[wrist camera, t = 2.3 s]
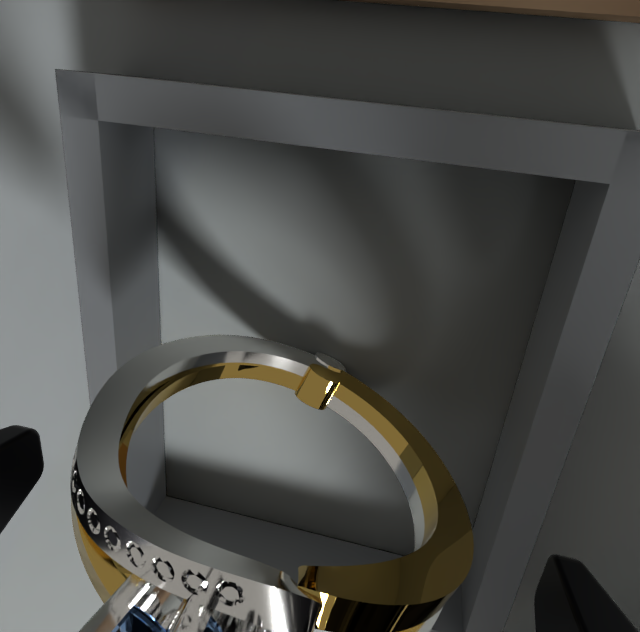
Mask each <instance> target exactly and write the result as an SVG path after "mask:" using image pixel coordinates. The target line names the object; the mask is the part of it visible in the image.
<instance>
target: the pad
mask: <svg viewBox="0 0 640 632" xmlns="http://www.w3.org/2000/svg"><path fill="white" fill-rule="evenodd" d="M340 1H354V2H367V3H380V4H394V5H407V6H420V7H434V8H447V9H460V10H473V11H487V12H500V13H513V14H527V15H540V16H553V17H567V18H580V19H593V20H607V21H620V22H633V23H640V0H340Z"/></svg>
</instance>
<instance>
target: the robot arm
mask: <svg viewBox="0 0 640 632" xmlns="http://www.w3.org/2000/svg"><path fill="white" fill-rule="evenodd" d="M43 468H44V461H43V455H42V449H41V442H40V436H39V434H38V432H37V431H36V430H34V429H32V428H28V427H23V426H19V425H13V426H9V427H6V428H3V429H0V534H1V532H2V531H3V529H4V528H5V527H6V525H7V524H8V522H9V521H10V520H11V518H12V517H13V515H14V514H15V512H16V511H17V510H18V508H19V507H20V505H21V504H22V503H23V501H24V500H25V498H26V497H27V496H28V494H29V493H30V491H31V490H32V489H33V487H34V486H35V484H36V483H37V481H38V480H39V478H40V477H41V475H42V472H43ZM534 606H535V624H536V632H638V631H637V629H636V628H635V627H634V626H633V624H632V623H631V622H630V621H629V620H628V618H627V617H626V616H625V615H624V613H623V612H622V611H621V610H620V608H619V607H618V606H617V605H616V604H615V602H614V601H613V600H612V599H611V597H610V596H609V595H608V594H607V593H606V591H605V590H604V589H603V588H602V586H601V585H600V584H599V583H598V581H597V580H596V579H595V578H594V577H593V575H592V574H591V573H590V572H589V570H588V569H587V568H586V567H585V566H584V564H583V563H581V562H580V561H579V560H577V559H573V558H569V557H565V556H560V555H551V556H550V557H549V559H548V561H547V563H546V566H545V568H544V571H543V573H542V576H541V579H540V581H539V584H538V586H537V589H536V593H535V603H534Z"/></svg>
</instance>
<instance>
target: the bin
mask: <svg viewBox="0 0 640 632" xmlns="http://www.w3.org/2000/svg"><path fill="white" fill-rule="evenodd" d="M55 72H56V82H57V91H58V101H59V111H60V120H61V130H62V139H63V149H64V159H65V168H66V178H67V187H68V197H69V207H70V216H71V226H72V235H73V245H74V255H75V264H76V274H77V284H78V293H79V303H80V312H81V322H82V332H83V341H84V351H85V360H86V370H87V380H88V389H89V399H90V406H91V405H92V403H93V401H94V399H95V397H96V396H97V394H98V393H99V391H100V390H101V388H102V387H103V385H104V384H105V383H106V382H107V380H108V379H109V378H110V377H111V376H112V375H113V374H114V373H115V372H116V371H117V370H118V369H119V368H120V367H121V366H123V365H124V364H125V363H127V362H128V361H129V360H131V359H132V358H134V357H136V356H137V355H139V354H141V353H143V352H145V351H147V350H149V349H151V348H153V347H156V346H159V345H161V332H160V303H159V274H158V245H157V217H156V188H155V159H154V130H153V127H155V128H163V129H171V130H179V131H187V132H195V133H203V134H211V135H219V136H227V137H235V138H243V139H251V140H259V141H268V142H276V143H284V144H292V145H300V146H308V147H316V148H324V149H332V150H340V151H348V152H356V153H364V154H372V155H380V156H388V157H396V158H404V159H412V160H420V161H428V162H436V163H444V164H452V165H461V166H469V167H477V168H485V169H493V170H501V171H509V172H517V173H525V174H533V175H541V176H549V177H557V178H565V179H573V180H576V182H575V186H574V189H573V192H572V196H571V199H570V203H569V206H568V209H567V213H566V216H565V220H564V223H563V226H562V230H561V233H560V236H559V240H558V243H557V247H556V250H555V253H554V257H553V260H552V264H551V267H550V270H549V274H548V277H547V281H546V284H545V287H544V291H543V294H542V297H541V301H540V304H539V308H538V311H537V314H536V318H535V321H534V325H533V328H532V331H531V335H530V338H529V342H528V345H527V348H526V352H525V355H524V359H523V362H522V365H521V369H520V372H519V375H518V379H517V382H516V386H515V389H514V392H513V396H512V399H511V403H510V406H509V409H508V413H507V416H506V420H505V423H504V426H503V430H502V433H501V437H500V440H499V443H498V447H497V450H496V453H495V457H494V460H493V464H492V467H491V470H490V474H489V477H488V481H487V484H486V487H485V491H484V494H483V498H482V501H481V504H480V508H479V511H478V514H477V518H476V521H475V525H474V528H473V531H472V533H473V541H474V553H473V560H472V565H471V568H470V570H469V573H468V575H467V577H466V578H465V580H464V581H463V582H462V584H461V585H460V586H459V587H458V589H457V590H456V591H455V592H454V594H453V595H452V596H451V597H450V599H449V600H448V601H447V602H446V604H445V605H444V606H443V608H442V610H441V612H440V614H439V616H438V618H437V620H436V622H435V624H434V625H433V627H432V629H431V630H430V632H503V629H504V627H505V624H506V621H507V619H508V616H509V613H510V610H511V608H512V605H513V602H514V600H515V597H516V594H517V591H518V589H519V586H520V583H521V580H522V578H523V575H524V572H525V570H526V567H527V564H528V561H529V559H530V556H531V553H532V551H533V548H534V545H535V542H536V540H537V537H538V534H539V531H540V529H541V526H542V523H543V521H544V518H545V515H546V512H547V510H548V507H549V504H550V502H551V499H552V496H553V493H554V491H555V488H556V485H557V482H558V480H559V477H560V474H561V472H562V469H563V466H564V463H565V461H566V458H567V455H568V453H569V450H570V447H571V444H572V442H573V439H574V436H575V433H576V431H577V428H578V425H579V423H580V420H581V417H582V414H583V412H584V409H585V406H586V404H587V401H588V398H589V395H590V393H591V390H592V387H593V384H594V382H595V379H596V376H597V374H598V371H599V368H600V365H601V363H602V360H603V357H604V355H605V352H606V349H607V346H608V344H609V341H610V338H611V335H612V333H613V330H614V327H615V325H616V322H617V319H618V316H619V314H620V311H621V308H622V306H623V303H624V300H625V297H626V295H627V292H628V289H629V286H630V284H631V281H632V278H633V276H634V273H635V270H636V267H637V265H638V262H639V259H640V131H638V130H629V129H620V128H610V127H601V126H592V125H582V124H573V123H564V122H554V121H545V120H536V119H526V118H517V117H508V116H498V115H489V114H480V113H470V112H461V111H452V110H443V109H433V108H424V107H415V106H405V105H396V104H387V103H377V102H368V101H359V100H349V99H340V98H331V97H321V96H312V95H303V94H293V93H284V92H275V91H265V90H256V89H247V88H237V87H228V86H219V85H209V84H200V83H191V82H181V81H172V80H163V79H153V78H144V77H135V76H126V75H116V74H105V73H94V72H83V71H72V70H60V69H55ZM126 479H127V487H128V490H129V492H130V493H131V494H132V496H133V497H134V498H135V499H136V500H137V501H138V502H139V503H140V504H141V505H142V506H143V507H144V508H146V509H147V510H148V511H149V512H151V513H152V514H154V515H155V516H156V517H158V518H159V519H161V520H163V521H164V522H166V523H168V524H169V525H171V526H173V527H175V528H176V529H178V530H180V531H182V532H184V533H186V534H188V535H191V536H193V537H195V538H197V539H199V540H202V541H204V542H207V543H209V544H212V545H214V546H217V547H219V548H222V549H225V550H228V551H230V552H233V553H236V554H239V555H242V556H245V557H247V558H250V559H253V560H256V561H259V562H261V563H264V564H267V565H269V566H272V567H274V568H276V569H278V570H281V571H283V572H284V573H286V574H288V575H289V576H290V577H291V578H292V579H293V580H294V581H295V582H296V583H298V567H300V566H353V565H365V564H373V563H380V562H385V561H390V560H394V559H397V558H400V557H403V556H401V555H397V554H393V553H389V552H385V551H381V550H377V549H373V548H369V547H365V546H361V545H357V544H353V543H350V542H346V541H342V540H338V539H334V538H330V537H326V536H322V535H318V534H314V533H310V532H306V531H302V530H298V529H294V528H290V527H286V526H282V525H278V524H274V523H270V522H266V521H262V520H258V519H254V518H250V517H247V516H243V515H239V514H235V513H231V512H227V511H223V510H219V509H215V508H211V507H207V506H203V505H199V504H195V503H191V502H187V501H183V500H179V499H175V498H171V497H167V496H166V475H165V446H164V418H163V402H162V403H160V404H159V405H158V406H157V407H156V408H154V409H153V410H152V411H151V412H150V413H149V414H148V415H147V417H146V418H145V419H144V420H143V421H142V423H141V424H140V425H139V427H138V428H137V430H136V431H135V433H134V434H133V436H132V438H131V440H130V443H129V447H128V452H127V460H126Z"/></svg>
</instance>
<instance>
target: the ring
mask: <svg viewBox="0 0 640 632" xmlns="http://www.w3.org/2000/svg"><path fill="white" fill-rule="evenodd" d="M223 378H249V379H257V380H262V381H267V382H271V383H275V384H278V385H282V386H285V387H287V388H290V389H293V390H295V395H296V396H297V397H298V398H299V399H300V400H301V401H302V402H304V403H306V404H307V405H309V406H311V407H313V408H316V409H320V410H324V409H325V408H326V407H329V408H330V409H332V410H333V411H335V412H336V413H338V414H339V415H341V416H342V417H343V418H345V419H346V420H347V421H349V422H350V423H351V424H352V425H354V426H355V427H356V428H357V429H358V430H359V431H361V432H362V433H363V434H364V435H365V436H366V437H367V438H368V439H369V440H370V441H371V442H372V443H373V445H374V446H375V447H376V448H377V449H378V450H379V451H380V453H381V454H382V455H383V457H384V458H385V459H386V461H387V462H388V463H389V465H390V466H391V468H392V470H393V471H394V473H395V475H396V476H397V478H398V480H399V482H400V484H401V486H402V488H403V490H404V493H405V495H406V497H407V500H408V503H409V506H410V510H411V513H412V518H413V523H414V532H415V547H414V552H413V553H411V554H408V555H406V556H403V557H400V558H397V559H394V560H390V561H385V562H380V563H373V564H365V565H353V566H300V567H298V583H296V582H295V581H294V580H293V579H292V578H291V577H290V576H289V575H288V574H286V573H284V572H283V571H281V570H278V569H276V568H274V567H272V566H269V565H267V564H264V563H261V562H259V561H256V560H253V559H250V558H247V557H245V556H242V555H239V554H236V553H233V552H230V551H228V550H225V549H222V548H219V547H217V546H214V545H212V544H209V543H207V542H204V541H202V540H199V539H197V538H195V537H193V536H191V535H188V534H186V533H184V532H182V531H180V530H178V529H176V528H175V527H173V526H171V525H169V524H168V523H166V522H164V521H163V520H161V519H159V518H158V517H156V516H155V515H154V514H152V513H151V512H149V511H148V510H147V509H146V508H144V507H143V506H142V505H141V504H140V503H139V502H138V501H137V500H136V499H135V498H134V497H133V496H132V494H131V493H130V492H129V490H128V487H127V479H126V460H127V452H128V447H129V443H130V440H131V438H132V436H133V434H134V433H135V431H136V430H137V428H138V427H139V425H140V424H141V423H142V421H143V420H144V419H145V418H146V417H147V415H148V414H149V413H150V412H151V411H152V410H153V409H154V408H156V407H157V406H158V405H159V404H160V403H162V402H163V401H164V400H166V399H167V398H169V397H170V396H172V395H174V394H175V393H177V392H179V391H181V390H183V389H185V388H187V387H190V386H192V385H195V384H198V383H202V382H205V381H210V380H215V379H223ZM70 488H71V513H72V523H73V530H74V535H75V539H76V543H77V547H78V550H79V553H80V556H81V559H82V562H83V564H84V567H85V569H86V572H87V574H88V576H89V578H90V580H91V582H92V584H93V586H94V588H95V589H96V591H97V593H98V595H99V596H100V598H101V599H102V601H103V603H104V604H103V606H102V607H101V608H100V609H99V610H98V611H97V612H96V613H95V614H94V615H93V616H92V618H91V619H90V620H89V621H88V622H87V623H86V624H85V625H84V626H83V627H82V628H81V630H80V631H79V632H314V629H319V630H325V631H330V632H430V630H431V629H432V627H433V625H434V624H435V622H436V620H437V618H438V616H439V614H440V612H441V610H442V608H443V606H444V605H445V604H446V602H447V601H448V600H449V599H450V597H451V596H452V595H453V594H454V592H455V591H456V590H457V589H458V587H459V586H460V585H461V584H462V582H463V581H464V580H465V578H466V577H467V575H468V573H469V570H470V568H471V565H472V560H473V553H474V541H473V533H472V527H471V523H470V519H469V515H468V512H467V509H466V506H465V504H464V501H463V499H462V496H461V494H460V492H459V490H458V488H457V486H456V484H455V482H454V480H453V478H452V476H451V475H450V473H449V471H448V470H447V468H446V466H445V465H444V463H443V462H442V460H441V459H440V457H439V456H438V455H437V453H436V452H435V450H434V449H433V448H432V447H431V445H430V444H429V443H428V441H427V440H426V439H425V438H424V437H423V436H422V434H421V433H420V432H419V431H418V430H417V429H416V428H415V427H414V426H413V425H412V424H411V423H410V422H409V421H408V420H407V419H406V418H405V417H404V416H403V415H402V414H401V413H400V412H399V411H398V410H397V409H396V408H395V407H393V406H392V405H391V404H390V403H389V402H388V401H386V400H385V399H384V398H383V397H381V396H380V395H379V394H377V393H376V392H375V391H373V390H372V389H371V388H369V387H368V386H366V385H365V384H364V383H362V382H361V381H359V380H358V379H356V378H354V377H353V376H351V375H350V374H348V373H346V372H345V367H344V366H343V365H342V364H341V363H340V362H339V361H337V360H336V359H334V358H332V357H330V356H328V355H326V354H323V353H316V354H315V355H312V354H310V353H308V352H305V351H303V350H300V349H297V348H294V347H291V346H288V345H285V344H282V343H278V342H274V341H270V340H266V339H261V338H255V337H249V336H239V335H205V336H196V337H189V338H184V339H179V340H175V341H171V342H168V343H164V344H161V345H159V346H156V347H153V348H151V349H149V350H147V351H145V352H143V353H141V354H139V355H137V356H136V357H134V358H132V359H131V360H129V361H128V362H127V363H125V364H124V365H123V366H121V367H120V368H119V369H118V370H117V371H116V372H115V373H114V374H113V375H112V376H111V377H110V378H109V379H108V380H107V382H106V383H105V384H104V385H103V387H102V388H101V390H100V391H99V393H98V394H97V396H96V397H95V399H94V401H93V403H92V405H91V406H90V408H89V411H88V413H87V415H86V417H85V420H84V422H83V425H82V428H81V431H80V435H79V439H78V443H77V446H76V450H75V454H74V458H73V462H72V468H71V477H70Z"/></svg>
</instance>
